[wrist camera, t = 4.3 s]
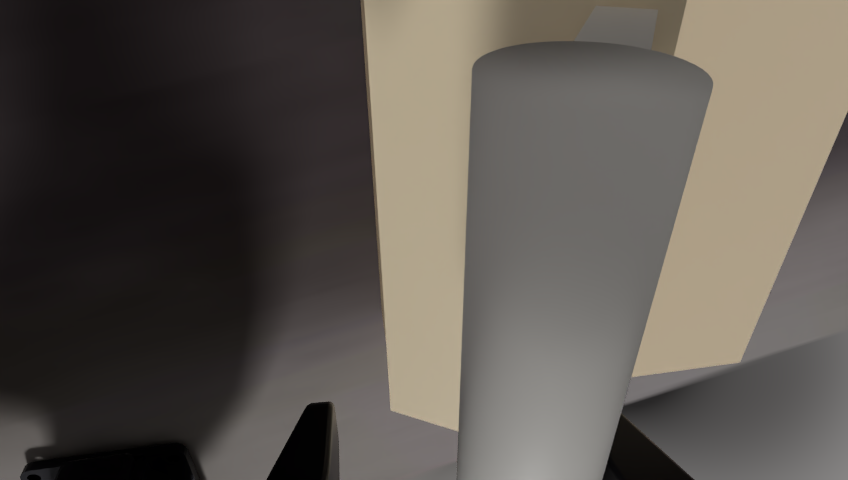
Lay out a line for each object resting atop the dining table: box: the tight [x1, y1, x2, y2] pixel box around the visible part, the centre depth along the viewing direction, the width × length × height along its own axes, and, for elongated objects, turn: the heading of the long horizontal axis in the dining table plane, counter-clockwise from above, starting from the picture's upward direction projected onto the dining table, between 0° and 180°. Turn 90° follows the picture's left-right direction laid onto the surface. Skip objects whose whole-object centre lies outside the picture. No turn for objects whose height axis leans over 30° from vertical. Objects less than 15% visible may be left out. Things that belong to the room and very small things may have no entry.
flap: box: [364, 0, 713, 480], centre depth 11 cm, size 14×6×7 cm, turn 0°
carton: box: [361, 0, 848, 377], centre depth 17 cm, size 14×12×5 cm
